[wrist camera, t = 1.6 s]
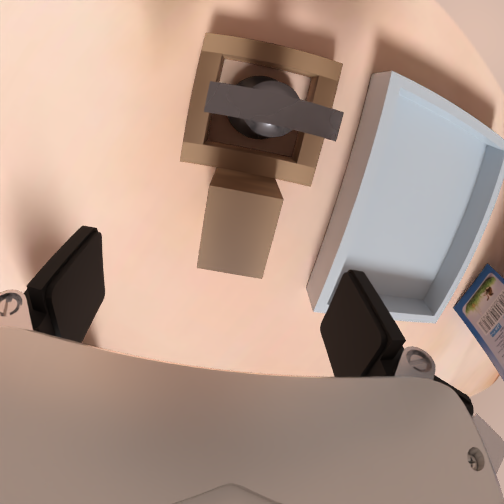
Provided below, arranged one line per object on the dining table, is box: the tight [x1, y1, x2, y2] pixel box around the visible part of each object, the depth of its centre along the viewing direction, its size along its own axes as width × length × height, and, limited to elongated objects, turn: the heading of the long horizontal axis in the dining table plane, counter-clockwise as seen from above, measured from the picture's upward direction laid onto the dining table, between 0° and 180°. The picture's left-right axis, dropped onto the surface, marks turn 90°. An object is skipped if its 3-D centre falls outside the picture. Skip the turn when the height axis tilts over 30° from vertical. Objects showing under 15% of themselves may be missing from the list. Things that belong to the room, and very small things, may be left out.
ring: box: [180, 33, 343, 279], centre depth 15 cm, size 8×12×6 cm, turn 168°
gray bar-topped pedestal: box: [204, 76, 344, 141], centre depth 12 cm, size 4×4×10 cm
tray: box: [306, 71, 504, 323], centre depth 19 cm, size 13×17×3 cm
